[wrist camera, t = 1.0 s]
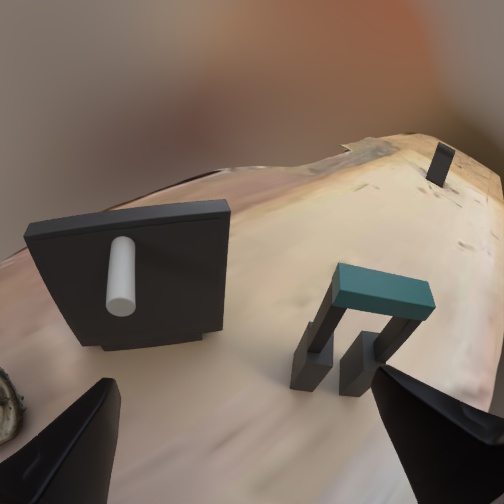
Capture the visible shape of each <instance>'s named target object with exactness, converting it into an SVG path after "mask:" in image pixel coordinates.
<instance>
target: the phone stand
mask: <svg viewBox="0 0 504 504" xmlns="http://www.w3.org/2000/svg"><path fill="white" fill-rule="evenodd" d="M454 154H455V150H453V149H451V148H450V147H448V146H446V145H444V144H442V143H440V142H439V143H438V145H437V148H436V151H435V154H434V157H433V159H432V162H431V165H430V167H429V170H428V172H427V176H426V179H428V180H429V181H431V182H433V183H435V184H437V185H439V186H440V187H443V184H444V181H445V179H446V176H447V173H448V171H449V168H450V165H451V162H452V159H453V157H454Z"/></svg>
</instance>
